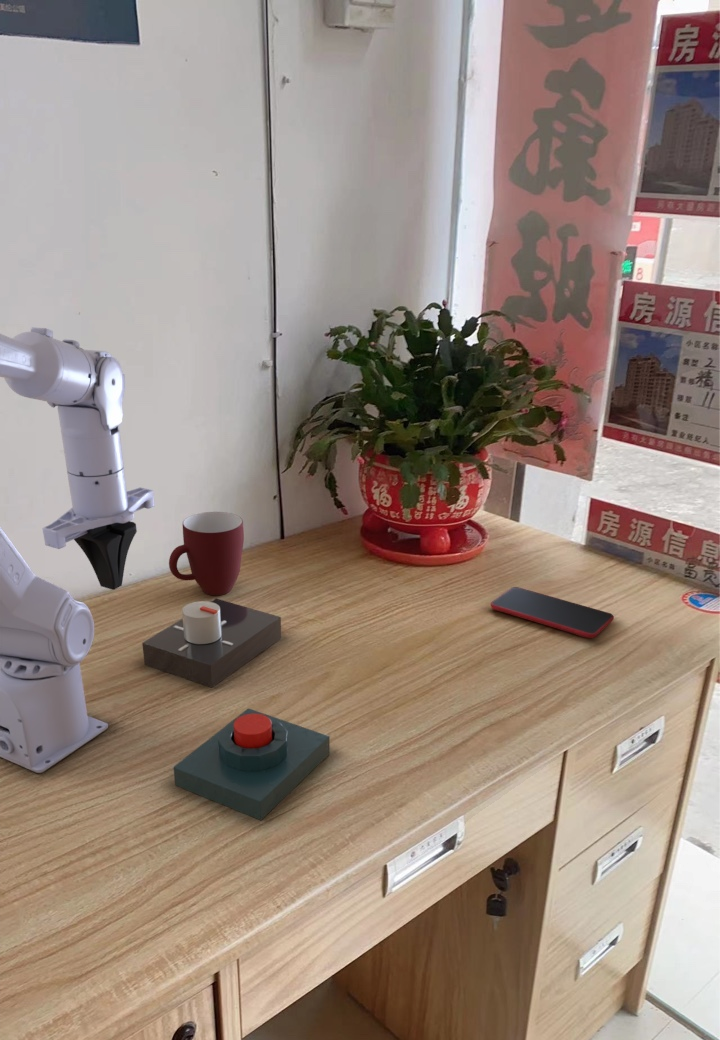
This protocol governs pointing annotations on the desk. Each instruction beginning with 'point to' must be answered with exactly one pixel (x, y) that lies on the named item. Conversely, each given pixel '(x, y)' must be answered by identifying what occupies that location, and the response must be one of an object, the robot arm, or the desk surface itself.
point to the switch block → (252, 767)
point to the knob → (202, 622)
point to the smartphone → (553, 612)
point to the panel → (214, 645)
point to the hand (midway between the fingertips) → (111, 585)
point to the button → (252, 731)
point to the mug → (211, 551)
